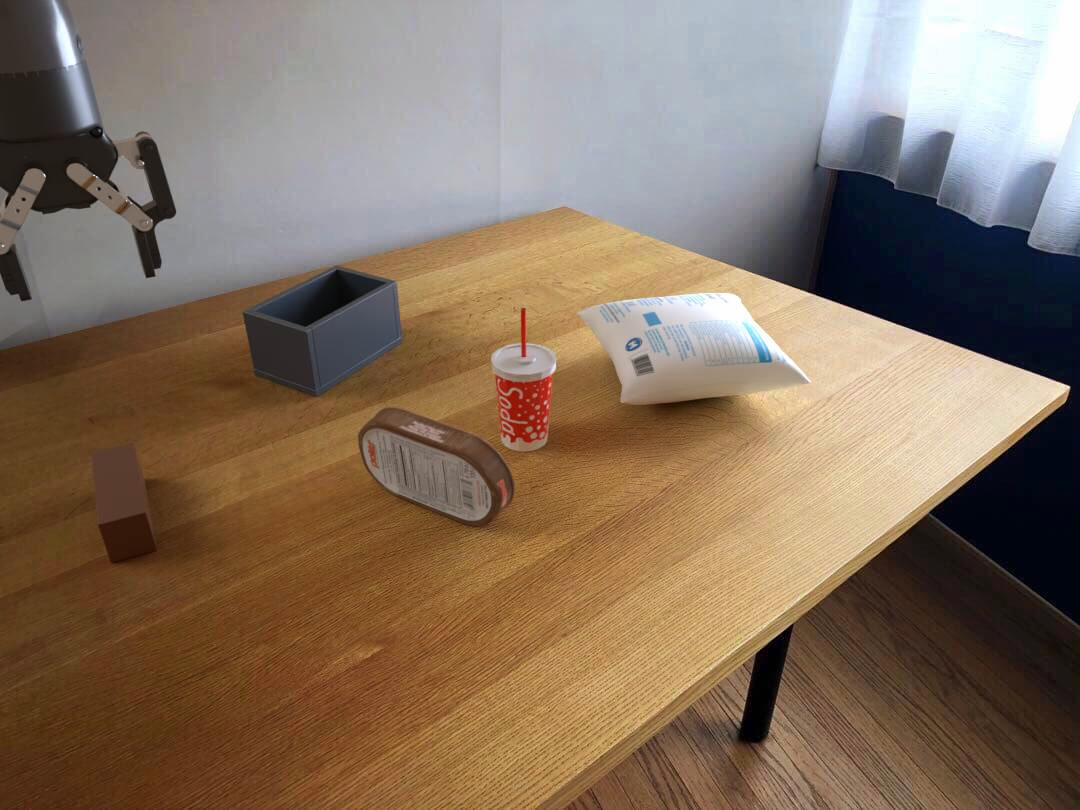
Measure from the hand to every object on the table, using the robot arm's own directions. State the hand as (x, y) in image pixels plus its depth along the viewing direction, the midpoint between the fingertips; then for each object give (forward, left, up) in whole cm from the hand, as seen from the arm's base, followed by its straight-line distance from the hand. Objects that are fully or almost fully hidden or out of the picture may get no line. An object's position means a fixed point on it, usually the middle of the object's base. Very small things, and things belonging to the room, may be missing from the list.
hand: (89, 285), depth 65 cm
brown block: (-1, -2, -21) cm, 21 cm away
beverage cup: (+29, +18, -21) cm, 40 cm away
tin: (+24, +6, -21) cm, 33 cm away
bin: (+4, +28, -21) cm, 35 cm away
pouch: (+43, +34, -21) cm, 59 cm away
